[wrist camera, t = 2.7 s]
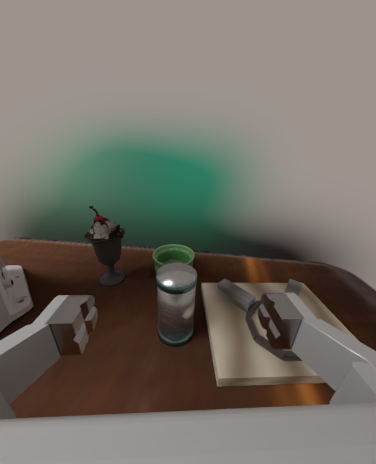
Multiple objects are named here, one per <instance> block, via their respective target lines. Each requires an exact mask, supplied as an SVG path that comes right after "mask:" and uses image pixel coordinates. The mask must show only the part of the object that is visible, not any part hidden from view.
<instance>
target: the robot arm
mask: <svg viewBox="0 0 376 464" xmlns="http://www.w3.org/2000/svg"><path fill="white" fill-rule="evenodd" d="M261 301H262V304H261V305H260V306H259V309H258V318H259V321H260V324H261V326H262V327H263V328H264V329H265V330H266V331H267V334H266V337H267V339H268V341H269V343H270V345H271V347H272V349H291V350H292V351H293V352H294V353H295V354H296V355H297V356H298V357H299V358H300V359H301V360H302V361H303V362H304V363H306V364H307V365H308V366H309V367H310V368H311V369H312V370H313V371H314V372H315V373H316V374H317V375H319V376H320V377H321V378H322V379H323V380H324V381H325V382H326V383H327V384H328V385H329V386H330V387H331V388H333V389H334V390H335V393H334V395H333V397H332V398H331V400H330V404H328V405H306V406H284V407H261V408H238V409H215V410H193V411H171V412H149V413H127V414H105V415H83V416H61V417H39V418H17V419H16V414H15V412H14V411H13V409H12V408H11V406H10V403H11V402H13V401H14V400H15V399H16V398H17V397H18V396H19V395H20V394H21V393H22V392H23V391H24V390H26V389H27V388H28V387H29V386H30V385H31V384H32V383H33V382H34V381H35V380H36V379H37V378H38V377H40V376H41V375H42V374H43V373H44V372H45V371H46V370H47V369H48V368H49V367H50V366H51V365H52V364H54V363H55V362H56V361H57V360H58V359H59V358H60V357H61V356H63V355H81V354H82V353H83V351H84V349H85V347H86V345H87V343H88V341H89V338H88V334H90V333H91V332H92V331H93V330H94V328H95V326H96V323H97V319H98V312H97V309H96V308H95V307H94V306H93V305H94V303H95V299H94V296H92V295H58V296H56V297H55V298H54V299H53V300H52V301H51V303H50V304H49V305H48V306H47V307H46V308H45V309H44V311H43V312H42V313H41V314H40V315H39V316H38V317H37V319H36V320H35V321H34V322H33V323H32V324H31V325H26V326H24V327H23V328H21V329H19V330H17V331H16V332H14V333H12V334H11V335H9V336H7V337H5V338H4V339H2V340H0V464H376V351H374V350H373V349H371V348H369V347H368V346H366V345H364V344H362V343H361V342H359V341H357V340H356V339H354V338H352V337H350V336H349V335H347V334H345V333H344V332H342V331H340V330H338V329H337V328H335V327H333V326H332V325H330V324H328V323H326V322H325V321H323V320H321V319H317V318H316V317H315V316H314V315H313V313H312V312H311V311H310V310H309V309H308V307H307V306H306V305H305V304H304V303H303V302H302V300H301V299H300V298H299V297H298V296H297V295H296V294H295V293H263V294H262V296H261ZM32 307H33V302H32V298H31V295H30V291H29V288H28V284H27V281H26V277H25V274H24V271H23V269H22V267H21V266H5V265H4V263H3V260H2V258H1V256H0V332H1V331H2V330H3V329H4V328H5V327H6V326H7V325H9V324H10V323H11V322H12V321H14V320H16V319H17V318H19V317H20V316H22V315H24V314H25V313H27V312H28V311H29V310H30V309H31V308H32Z"/></svg>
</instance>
